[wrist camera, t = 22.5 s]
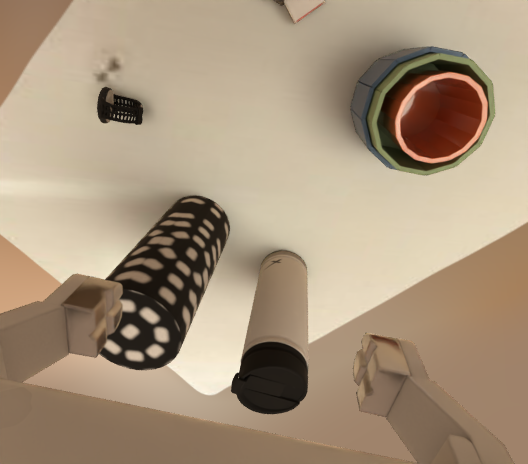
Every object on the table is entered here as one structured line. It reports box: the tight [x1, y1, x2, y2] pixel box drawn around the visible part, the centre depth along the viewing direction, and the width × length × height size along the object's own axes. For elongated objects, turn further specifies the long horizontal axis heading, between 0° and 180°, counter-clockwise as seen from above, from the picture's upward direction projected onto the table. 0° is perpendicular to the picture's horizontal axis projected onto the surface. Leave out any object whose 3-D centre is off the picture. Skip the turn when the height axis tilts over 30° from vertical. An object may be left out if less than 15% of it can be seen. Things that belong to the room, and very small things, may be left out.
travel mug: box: [231, 251, 308, 414], centre depth 38 cm, size 6×7×20 cm
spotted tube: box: [99, 196, 230, 370], centre depth 37 cm, size 8×8×20 cm
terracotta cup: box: [377, 69, 488, 163], centre depth 31 cm, size 6×6×10 cm
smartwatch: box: [97, 87, 143, 125], centre depth 38 cm, size 4×5×5 cm
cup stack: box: [350, 46, 495, 176], centre depth 32 cm, size 10×10×10 cm
